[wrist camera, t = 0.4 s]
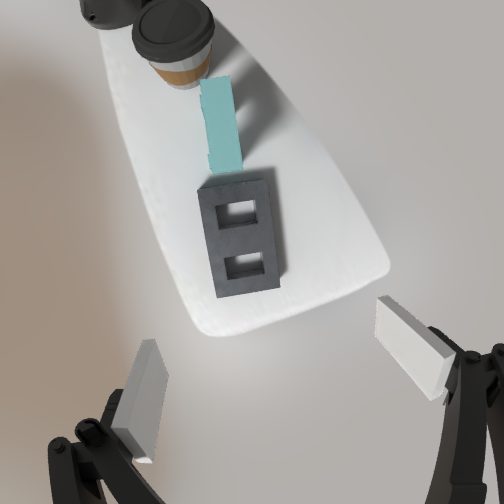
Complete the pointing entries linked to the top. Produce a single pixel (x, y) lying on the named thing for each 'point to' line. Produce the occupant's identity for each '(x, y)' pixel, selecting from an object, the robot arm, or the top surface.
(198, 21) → the coffee cup
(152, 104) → the top surface
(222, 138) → the teal u-shaped block
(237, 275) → the grey slotted slab
